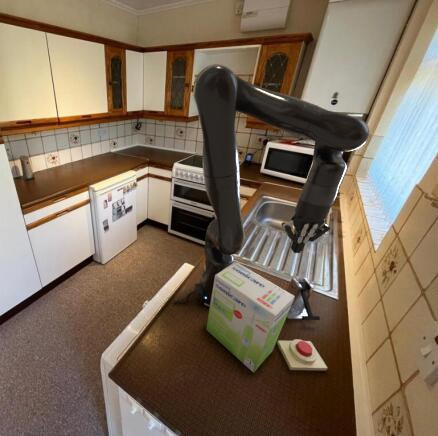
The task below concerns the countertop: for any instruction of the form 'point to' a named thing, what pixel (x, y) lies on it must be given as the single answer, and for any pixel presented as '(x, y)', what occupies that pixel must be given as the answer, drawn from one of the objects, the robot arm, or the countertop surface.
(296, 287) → the grey upright angular piece
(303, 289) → the press lever
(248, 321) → the toothbrush box
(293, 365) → the button block
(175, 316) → the countertop surface
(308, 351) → the stop button
